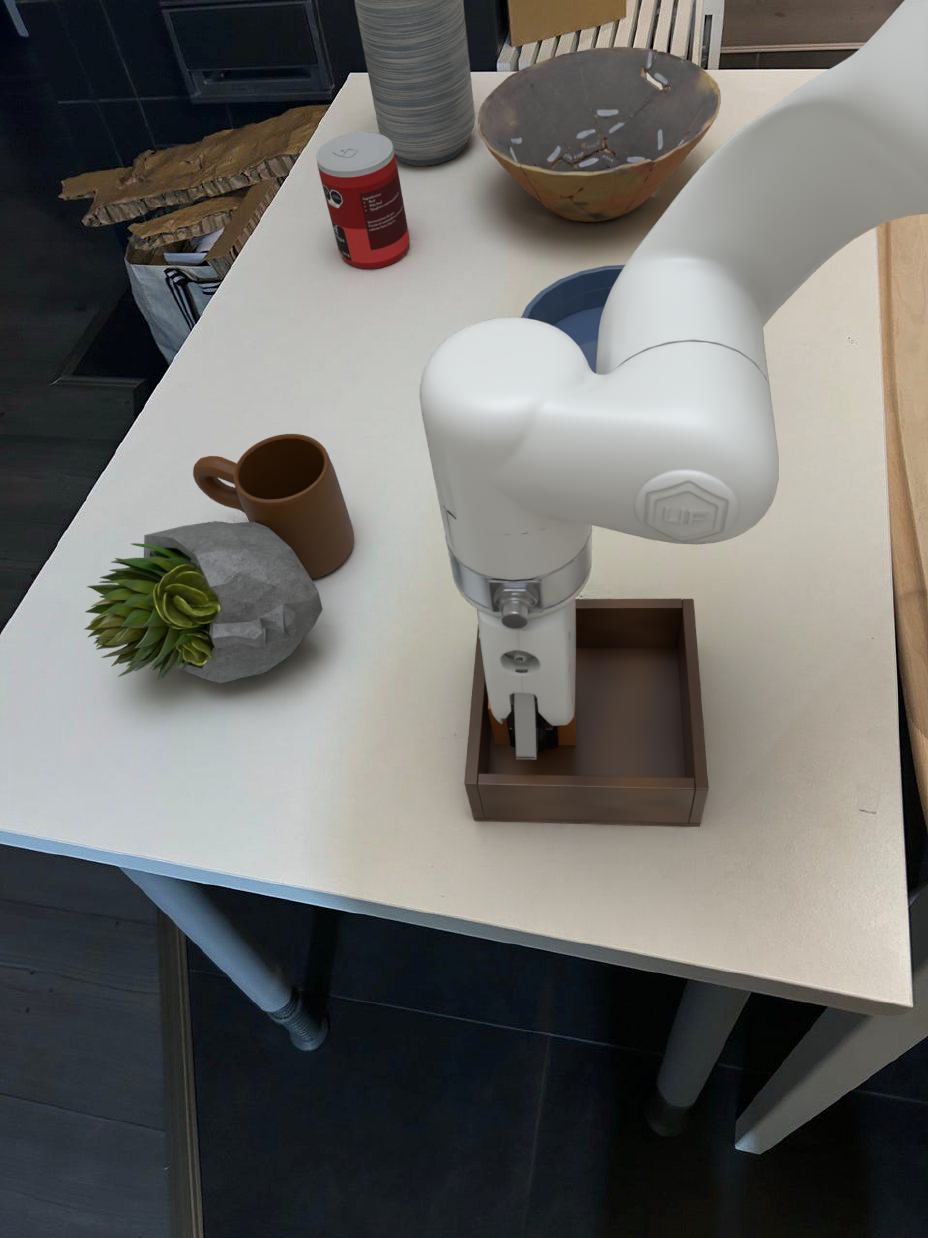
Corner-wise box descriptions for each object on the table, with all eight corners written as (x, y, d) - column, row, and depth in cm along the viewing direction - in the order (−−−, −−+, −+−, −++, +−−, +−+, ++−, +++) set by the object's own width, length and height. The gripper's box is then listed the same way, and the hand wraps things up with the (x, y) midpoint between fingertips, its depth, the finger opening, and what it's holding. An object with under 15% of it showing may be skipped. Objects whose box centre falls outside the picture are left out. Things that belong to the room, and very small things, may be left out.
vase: (433, 113, 117) (403, -106, 98) (497, 140, 111) (477, -88, 93) (364, 153, 113) (318, -67, 95) (426, 183, 107) (391, -45, 89)
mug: (205, 567, 76) (162, 488, 69) (242, 500, 81) (205, 419, 73) (337, 590, 73) (307, 510, 66) (369, 520, 77) (344, 437, 70)
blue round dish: (712, 300, 89) (717, 259, 85) (728, 431, 79) (735, 390, 75) (525, 309, 92) (522, 269, 88) (516, 438, 81) (513, 398, 78)
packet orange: (576, 702, 64) (574, 663, 60) (575, 745, 62) (573, 708, 58) (498, 702, 65) (490, 663, 61) (495, 744, 63) (487, 708, 59)
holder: (687, 644, 67) (693, 598, 62) (700, 827, 59) (709, 790, 54) (487, 643, 69) (479, 599, 64) (473, 821, 61) (464, 784, 56)
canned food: (347, 230, 104) (324, 132, 95) (416, 228, 102) (399, 128, 93) (332, 271, 99) (307, 172, 90) (404, 269, 98) (385, 169, 89)
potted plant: (346, 649, 65) (140, 744, 59) (297, 636, 76) (120, 714, 71) (282, 486, 62) (59, 569, 56) (241, 498, 74) (52, 568, 68)
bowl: (583, 116, 112) (582, 26, 104) (758, 175, 101) (772, 79, 93) (438, 214, 103) (425, 124, 95) (611, 290, 92) (613, 195, 84)
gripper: (592, 681, 43) (590, 833, 58) (591, 434, 53) (590, 620, 67) (434, 679, 44) (472, 830, 59) (461, 437, 54) (489, 620, 68)
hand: (535, 716), depth 63 cm, fingers closed on packet orange, 3 cm apart
